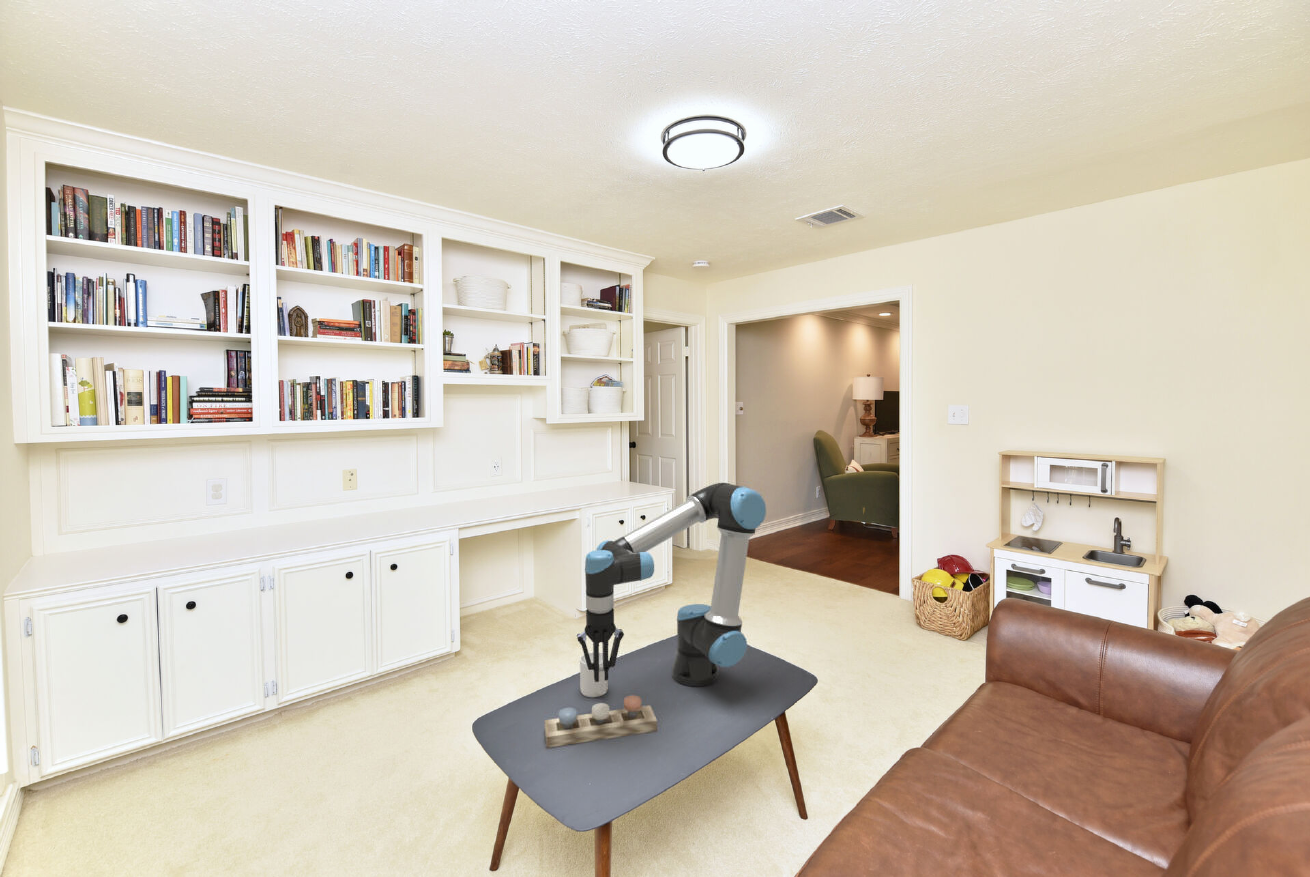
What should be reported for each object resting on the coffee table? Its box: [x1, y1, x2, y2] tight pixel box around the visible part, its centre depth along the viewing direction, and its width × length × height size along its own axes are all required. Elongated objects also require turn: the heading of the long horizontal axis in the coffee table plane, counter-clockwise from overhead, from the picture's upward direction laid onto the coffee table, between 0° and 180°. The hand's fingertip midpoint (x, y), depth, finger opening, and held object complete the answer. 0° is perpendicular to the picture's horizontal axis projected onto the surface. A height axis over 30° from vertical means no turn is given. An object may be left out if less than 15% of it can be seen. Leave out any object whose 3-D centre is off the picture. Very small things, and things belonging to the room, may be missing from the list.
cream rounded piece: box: [591, 702, 610, 725], centre depth 160 cm, size 5×5×4 cm
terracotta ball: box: [623, 695, 642, 718], centre depth 162 cm, size 5×5×4 cm
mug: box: [579, 651, 609, 698], centre depth 180 cm, size 9×12×11 cm
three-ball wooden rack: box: [544, 705, 658, 749], centre depth 160 cm, size 30×8×3 cm, turn 104°
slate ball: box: [558, 707, 578, 730], centre depth 158 cm, size 5×5×4 cm
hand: (601, 691), depth 160 cm, fingers closed
